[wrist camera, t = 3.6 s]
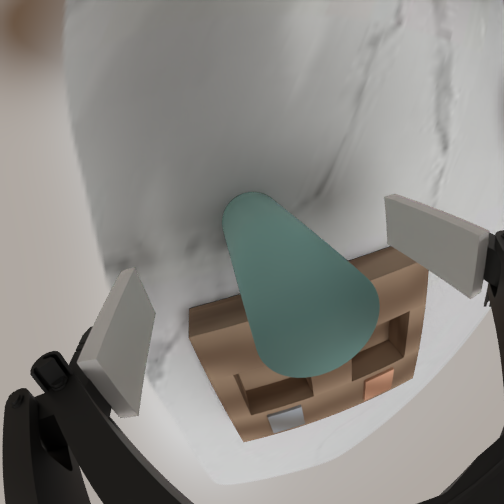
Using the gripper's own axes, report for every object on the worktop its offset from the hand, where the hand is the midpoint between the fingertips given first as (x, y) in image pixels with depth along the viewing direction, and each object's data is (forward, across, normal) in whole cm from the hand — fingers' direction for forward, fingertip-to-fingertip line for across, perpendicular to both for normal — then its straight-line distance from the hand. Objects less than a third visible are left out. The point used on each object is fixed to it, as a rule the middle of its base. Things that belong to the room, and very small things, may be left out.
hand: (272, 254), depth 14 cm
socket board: (+6, +3, -12) cm, 14 cm away
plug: (+6, 0, 0) cm, 6 cm away
